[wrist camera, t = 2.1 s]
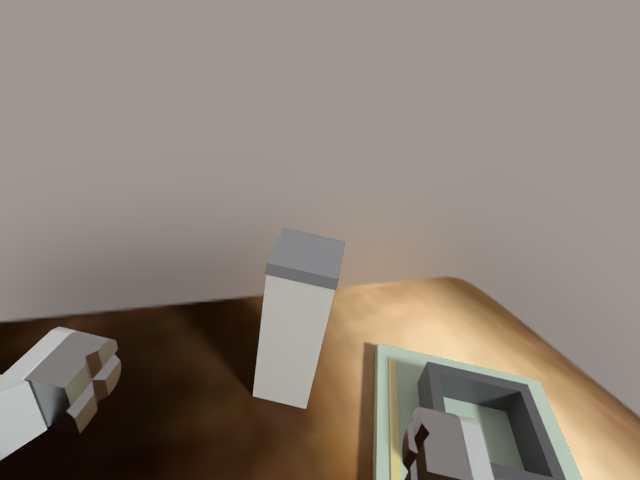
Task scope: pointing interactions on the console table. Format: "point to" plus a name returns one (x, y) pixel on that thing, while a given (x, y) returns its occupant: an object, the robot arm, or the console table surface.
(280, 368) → the plug
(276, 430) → the console table surface
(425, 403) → the board
